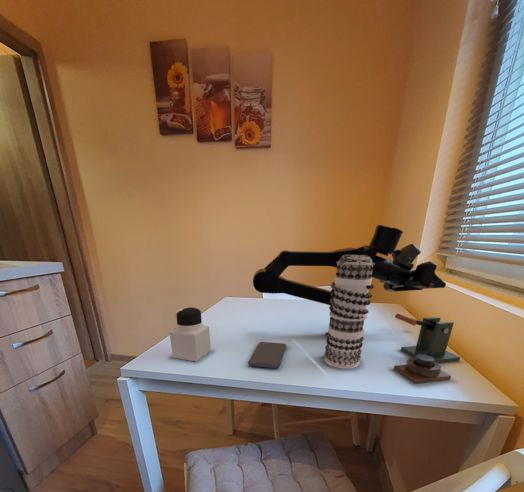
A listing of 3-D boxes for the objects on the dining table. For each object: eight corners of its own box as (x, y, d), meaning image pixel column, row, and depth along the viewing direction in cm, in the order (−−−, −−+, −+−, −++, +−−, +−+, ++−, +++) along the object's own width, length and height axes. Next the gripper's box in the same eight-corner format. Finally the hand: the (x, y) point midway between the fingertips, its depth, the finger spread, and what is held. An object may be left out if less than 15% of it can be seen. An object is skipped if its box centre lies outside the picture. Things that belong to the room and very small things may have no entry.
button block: (414, 385, 59) (418, 372, 57) (393, 370, 65) (395, 358, 64) (449, 380, 61) (453, 368, 59) (425, 366, 67) (428, 355, 66)
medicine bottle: (211, 351, 74) (208, 307, 69) (196, 362, 67) (192, 314, 63) (188, 347, 76) (183, 304, 71) (172, 357, 70) (166, 311, 65)
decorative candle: (345, 352, 74) (359, 253, 65) (369, 366, 66) (389, 256, 57) (315, 356, 71) (325, 254, 62) (336, 372, 64) (351, 257, 54)
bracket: (425, 365, 67) (435, 327, 64) (400, 351, 75) (408, 316, 72) (459, 361, 70) (471, 324, 66) (431, 348, 78) (440, 314, 74)
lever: (410, 327, 64) (415, 317, 63) (393, 320, 69) (397, 310, 68) (448, 336, 68) (452, 327, 67) (429, 328, 73) (433, 320, 72)
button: (422, 369, 60) (424, 361, 59) (410, 362, 63) (412, 355, 62) (436, 367, 60) (438, 360, 60) (423, 360, 64) (425, 353, 63)
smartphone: (286, 343, 77) (278, 365, 64) (286, 346, 78) (278, 369, 64) (259, 341, 79) (246, 362, 65) (259, 344, 79) (246, 366, 65)
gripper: (415, 232, 67) (471, 252, 69) (377, 248, 86) (422, 264, 88) (399, 277, 69) (454, 296, 70) (365, 283, 87) (409, 298, 89)
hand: (433, 287), depth 79 cm, fingers open, 9 cm apart
